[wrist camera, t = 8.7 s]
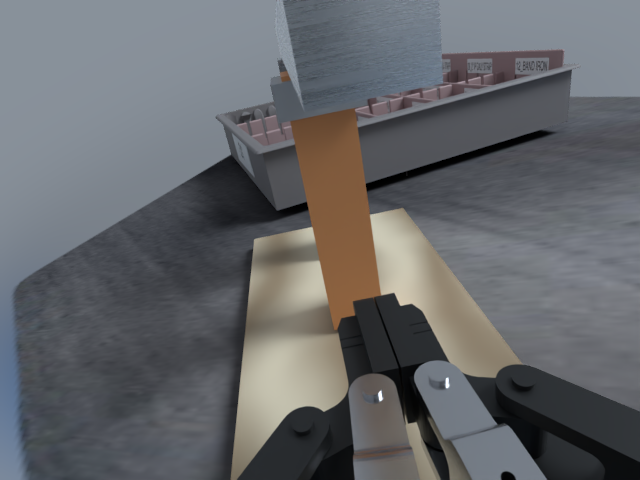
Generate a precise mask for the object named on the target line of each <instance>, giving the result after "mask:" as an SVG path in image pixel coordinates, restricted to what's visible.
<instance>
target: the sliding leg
mask: <svg viewBox="0 0 640 480" xmlns="http://www.w3.org/2000/svg"><path fill="white" fill-rule="evenodd" d="M270 86H271V90H272V95H273V99H274V104H275V108H276V113H277V117H278V122H279V123H284V122H288V121H290V123H291V128H292V133H293V137H294V142H295V147H296V152H297V156H298V161H299V166H300V171H301V175H302V180H303V185H304V190H305V194H306V199H307V204H308V209H309V213H310V218H311V223H312V227H313V232H314V237H315V242H316V246H317V251H318V256H319V261H320V265H321V270H322V275H323V280H324V284H325V289H326V294H327V298H328V303H329V308H330V313H331V317H332V322H333V327H334V330H337V328H338V326H339V323H340V320H341V318H345V317H349V316H354V315H355V313H354V307H353V301H356V300H361V299H366V298H371V297H373V299H374V297H375V296H380V295H381V291H380V284H379V276H378V269H377V262H376V255H375V248H374V241H373V234H372V226H371V219H370V212H369V205H368V198H367V191H366V183H365V176H364V169H363V162H362V155H361V148H360V141H359V133H358V126H357V119H356V112H355V108H356V107H361V106H366V105H368V104H367V99H366V100H361V101H356V102H351V103H346V104H341V105H337V106H332V107H327V108H322V109H317V110H312V111H308V112H304V110H303V107H302V105H301V103H300V100H299V98H298V96H297V93H296V91H295V88H294V86H293V84H292V81H291V79H290V77H289V74H288V72H287V71H284V72H280V76H278V77H273V78H271V85H270Z"/></svg>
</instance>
